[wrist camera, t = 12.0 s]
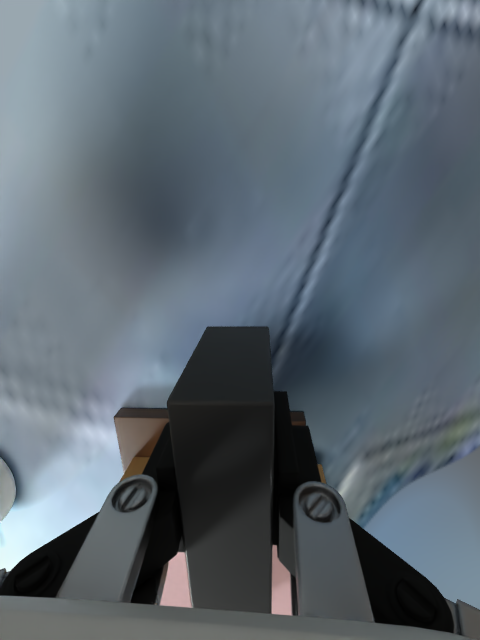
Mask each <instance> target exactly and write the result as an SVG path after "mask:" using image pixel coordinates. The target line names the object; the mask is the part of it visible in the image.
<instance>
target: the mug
mask: <svg viewBox="0 0 480 640" xmlns="http://www.w3.org/2000/svg"><path fill="white" fill-rule="evenodd" d="M15 496H16V485H15V480H14V477H13V474H12V472H11V470H10V469H9V467H8V466H7V464H6V463H5V462H4V460H3V459H2V458H1V457H0V523H1V522H2V521H3V519H4V518H5V517H6V516H7V514H8V513H9V511H10V509H11V508H12V506H13V503H14V500H15Z"/></svg>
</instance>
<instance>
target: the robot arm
mask: <svg viewBox="0 0 480 640" xmlns="http://www.w3.org/2000/svg"><path fill="white" fill-rule="evenodd" d="M274 404H275V410H274V479H273V545H277V558H279V561H280V562H281V563H282V564H283V565H284V567H285V568H286V569H287V570H288V571H289V572H290V591H291V615H279V614H267V613H255V612H242V611H229V610H216V609H203V608H189V607H176V606H163V605H160V602H161V598H162V593H163V589H164V585H165V580H166V576H167V571H168V565H169V561H170V560H171V559H172V558H173V557H175V556H176V555H177V553H178V552H184V553H185V547H184V538H183V530H182V522H181V514H180V506H179V498H178V490H177V482H176V474H175V466H174V457H173V449H172V441H171V433H170V425H169V422H168V423H166V425H165V426H164V429H163V431H162V433H161V435H160V437H159V439H158V441H157V443H156V445H155V447H154V449H153V451H152V453H151V456H150V458H149V460H148V462H147V464H146V466H145V468H144V470H143V472H142V474H139V475H133V476H130V477H127V478H125V479H124V480H122V481H120V482H119V483H118V484H117V485H116V486H115V487H113V489H112V490H111V492H110V493H109V494H108V496H107V498H106V500H105V502H104V504H103V506H102V508H101V510H100V512H98V513H96V514H95V515H93V516H91V517H90V518H88V519H87V520H85V521H83V522H82V523H80V524H78V525H77V526H75V527H73V528H72V529H70V530H68V531H67V532H65V533H63V534H62V535H60V536H58V537H57V538H55V539H53V540H52V541H50V542H49V543H47V544H45V545H44V546H42V547H40V548H39V549H37V550H35V551H34V552H32V553H31V554H29V555H28V556H26V557H25V558H24V559H22V560H21V561H20V562H19V563H18V564H17V565H16V566H15V567H14V568H13V569H12V570H11V571H9V572H6V569H5V568H4V569H1V570H0V640H480V610H479V609H477V608H475V607H473V606H471V605H469V604H467V603H465V602H462V601H460V600H458V599H457V602H456V603H454V602H452V601H450V600H448V599H446V598H444V597H443V596H442V594H441V593H440V592H439V590H438V589H437V588H436V587H435V586H434V585H433V584H432V583H431V582H430V581H429V580H428V579H427V578H426V577H424V576H423V575H422V574H420V573H419V572H418V571H417V570H415V569H414V568H413V567H411V566H410V565H409V564H408V563H406V562H405V561H404V560H403V559H401V558H400V557H399V556H397V555H396V554H395V553H394V552H392V551H391V550H390V549H388V548H387V547H386V546H385V545H383V544H382V543H381V542H379V541H378V540H377V539H376V538H374V537H373V536H372V535H370V534H369V533H368V532H366V531H365V530H364V529H363V528H361V527H360V526H359V525H358V524H356V523H355V522H354V521H353V520H351V519H350V518H349V517H348V513H347V509H346V505H345V502H344V500H343V498H342V497H341V495H340V494H339V493H338V491H336V490H335V489H334V488H332V487H331V486H329V485H327V484H325V483H322V481H321V477H320V473H319V469H318V464H317V460H316V456H315V451H314V447H313V443H312V439H311V434H310V430H309V427H308V426H303V425H292V422H291V415H290V409H289V402H288V395H287V391H274Z"/></svg>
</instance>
